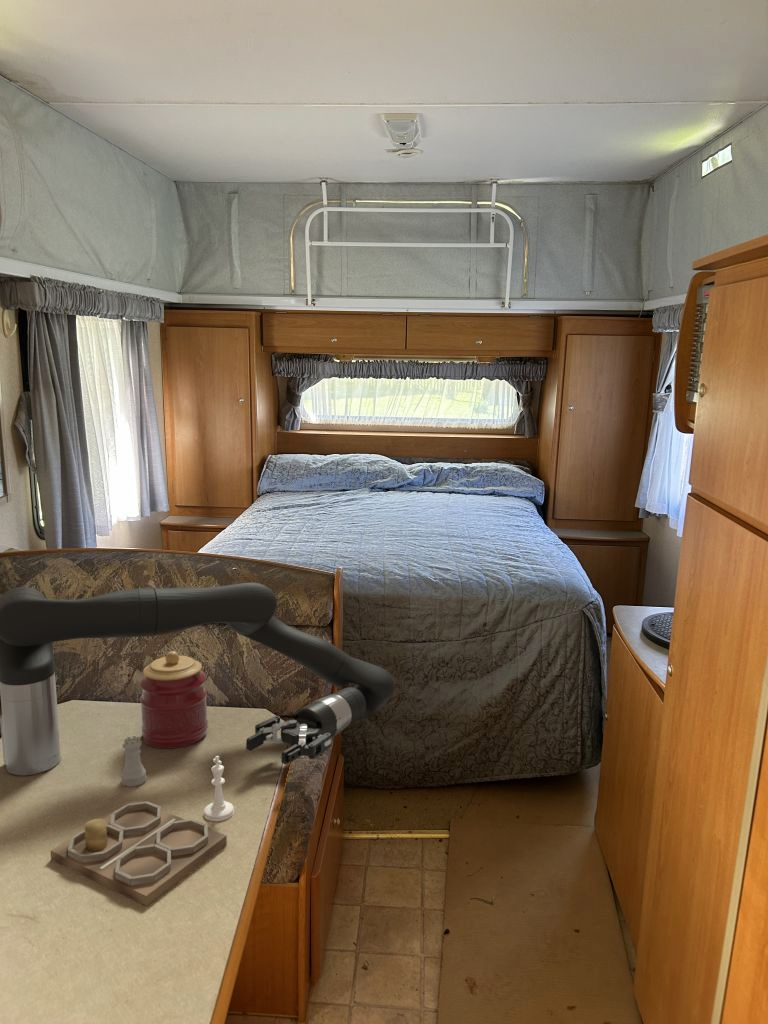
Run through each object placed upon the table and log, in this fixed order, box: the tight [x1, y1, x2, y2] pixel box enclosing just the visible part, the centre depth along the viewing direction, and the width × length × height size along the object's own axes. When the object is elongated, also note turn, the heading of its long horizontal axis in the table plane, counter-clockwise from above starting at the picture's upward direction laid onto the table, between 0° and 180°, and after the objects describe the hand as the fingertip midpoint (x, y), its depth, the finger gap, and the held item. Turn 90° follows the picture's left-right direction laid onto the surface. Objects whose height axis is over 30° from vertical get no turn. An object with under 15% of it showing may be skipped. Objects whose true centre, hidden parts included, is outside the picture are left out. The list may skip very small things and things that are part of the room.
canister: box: [139, 650, 209, 749], centre depth 149 cm, size 13×13×18 cm
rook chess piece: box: [120, 735, 148, 788], centre depth 132 cm, size 4×4×8 cm
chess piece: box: [203, 755, 235, 822], centre depth 122 cm, size 5×5×10 cm
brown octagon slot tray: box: [49, 799, 228, 907], centre depth 112 cm, size 20×16×5 cm
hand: (265, 752), depth 131 cm, fingers open, 8 cm apart
